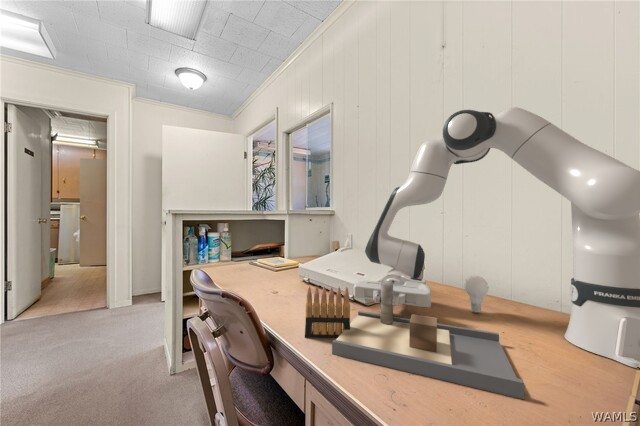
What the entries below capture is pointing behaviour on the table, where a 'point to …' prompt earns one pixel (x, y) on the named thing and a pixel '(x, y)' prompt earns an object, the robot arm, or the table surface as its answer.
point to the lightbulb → (476, 291)
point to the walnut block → (423, 333)
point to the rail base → (466, 355)
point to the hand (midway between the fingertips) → (386, 301)
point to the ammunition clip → (319, 317)
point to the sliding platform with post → (392, 332)
